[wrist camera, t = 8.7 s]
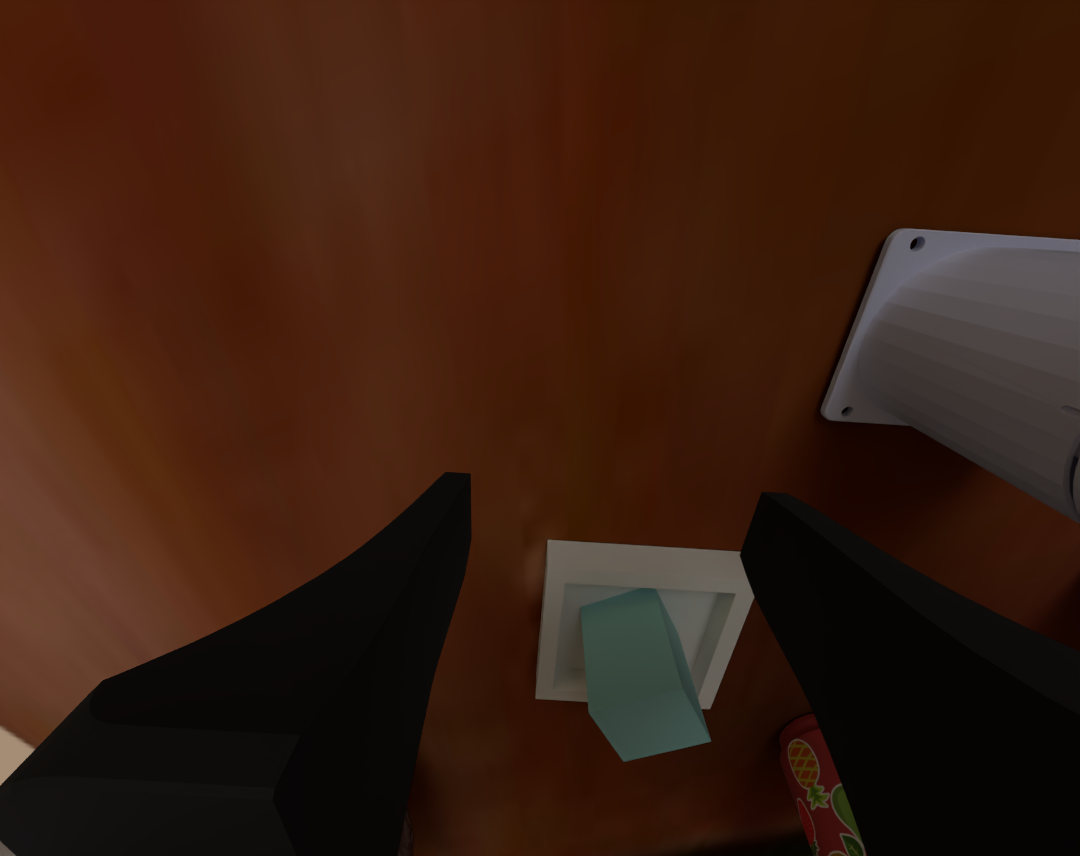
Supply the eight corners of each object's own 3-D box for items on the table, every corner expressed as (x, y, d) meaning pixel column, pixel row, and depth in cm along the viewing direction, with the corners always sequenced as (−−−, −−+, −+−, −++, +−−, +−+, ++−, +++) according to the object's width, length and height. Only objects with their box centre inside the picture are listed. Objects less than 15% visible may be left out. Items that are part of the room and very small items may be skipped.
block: (653, 583, 24) (682, 688, 19) (678, 632, 26) (711, 741, 21) (580, 607, 25) (588, 712, 20) (609, 653, 27) (623, 761, 22)
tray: (744, 552, 24) (760, 580, 22) (699, 676, 29) (710, 709, 27) (547, 539, 24) (547, 567, 22) (536, 667, 29) (535, 698, 27)
